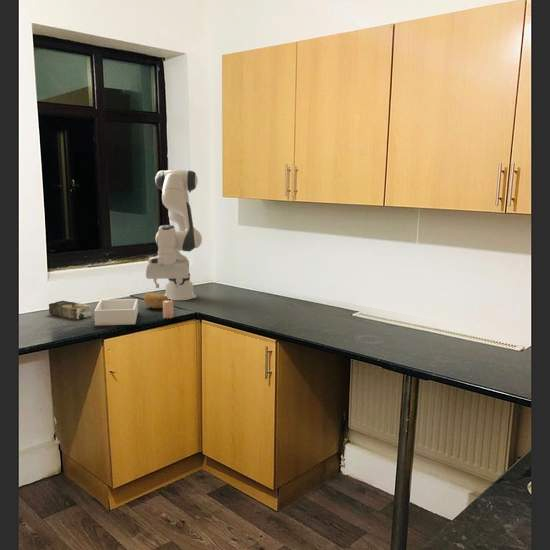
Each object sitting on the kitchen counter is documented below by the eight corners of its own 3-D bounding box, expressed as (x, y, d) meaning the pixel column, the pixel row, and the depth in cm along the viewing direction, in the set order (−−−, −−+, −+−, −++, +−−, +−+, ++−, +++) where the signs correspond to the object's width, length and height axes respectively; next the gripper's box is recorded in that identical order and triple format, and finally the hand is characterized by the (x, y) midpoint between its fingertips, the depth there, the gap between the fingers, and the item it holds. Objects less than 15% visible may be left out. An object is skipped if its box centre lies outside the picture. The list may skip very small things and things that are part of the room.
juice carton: (94, 316, 271) (93, 303, 270) (79, 320, 262) (78, 308, 261) (64, 311, 279) (63, 299, 278) (48, 316, 271) (47, 303, 270)
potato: (161, 312, 280) (161, 296, 279) (139, 308, 286) (139, 293, 285) (173, 308, 289) (173, 293, 287) (151, 304, 295) (151, 290, 293)
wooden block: (163, 316, 272) (162, 300, 271) (173, 315, 273) (173, 300, 272) (162, 318, 267) (162, 302, 266) (173, 318, 268) (173, 302, 267)
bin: (100, 313, 275) (100, 299, 273) (138, 312, 278) (137, 299, 277) (94, 325, 253) (94, 310, 252) (135, 324, 257) (134, 309, 255)
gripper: (188, 258, 270) (189, 286, 272) (145, 258, 266) (146, 286, 268) (189, 259, 264) (189, 288, 266) (145, 260, 260) (145, 289, 262)
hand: (167, 287), depth 267 cm, fingers open, 8 cm apart
